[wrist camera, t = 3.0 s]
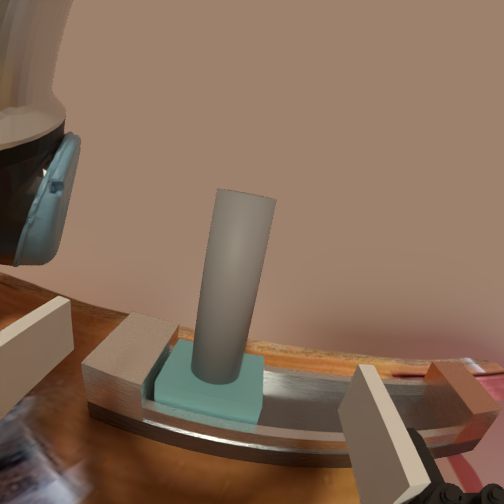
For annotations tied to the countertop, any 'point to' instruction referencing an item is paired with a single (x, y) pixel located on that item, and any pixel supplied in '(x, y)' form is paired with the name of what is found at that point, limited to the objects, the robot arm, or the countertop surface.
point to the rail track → (274, 405)
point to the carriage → (224, 318)
